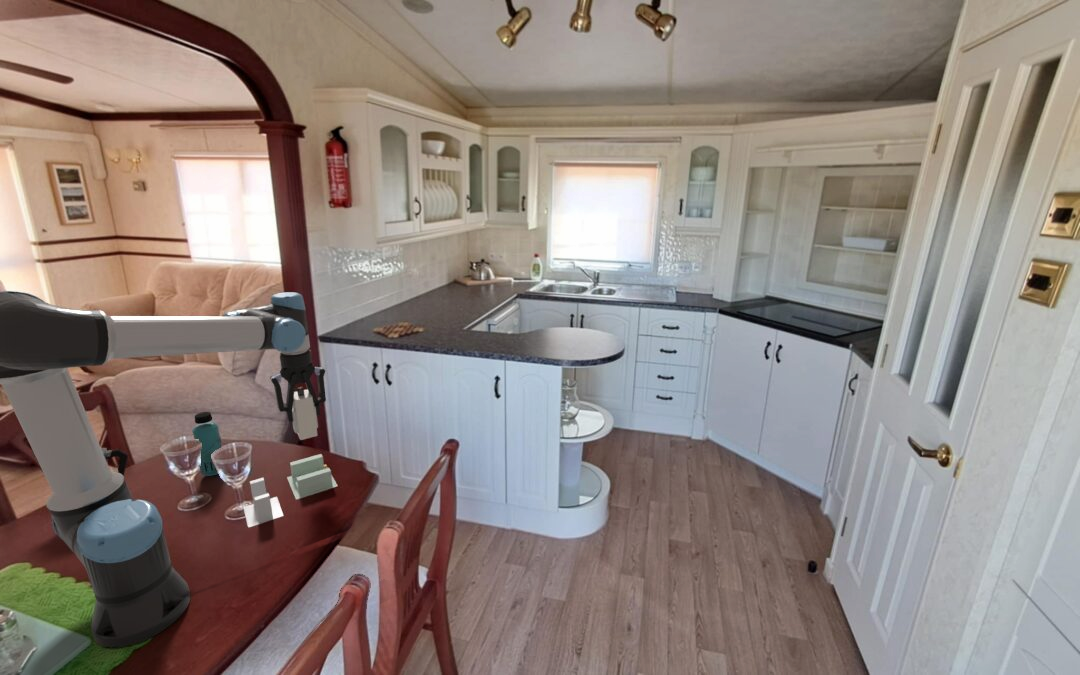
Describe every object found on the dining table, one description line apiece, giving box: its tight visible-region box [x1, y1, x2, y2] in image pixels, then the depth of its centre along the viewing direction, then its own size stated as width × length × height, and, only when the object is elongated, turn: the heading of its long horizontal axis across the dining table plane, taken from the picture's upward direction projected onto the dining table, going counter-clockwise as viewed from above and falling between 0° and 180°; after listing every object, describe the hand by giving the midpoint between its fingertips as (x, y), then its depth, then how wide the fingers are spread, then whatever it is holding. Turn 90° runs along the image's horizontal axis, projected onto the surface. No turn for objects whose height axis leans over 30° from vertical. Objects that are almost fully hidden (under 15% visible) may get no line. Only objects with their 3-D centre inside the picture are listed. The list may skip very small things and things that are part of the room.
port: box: [286, 453, 338, 501], centre depth 137 cm, size 13×11×6 cm
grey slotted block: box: [243, 477, 284, 529], centre depth 124 cm, size 10×8×8 cm
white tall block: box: [292, 386, 318, 441], centre depth 131 cm, size 6×4×14 cm
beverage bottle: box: [191, 411, 223, 477], centre depth 139 cm, size 6×7×20 cm
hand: (305, 428), depth 133 cm, fingers closed on white tall block, 4 cm apart
